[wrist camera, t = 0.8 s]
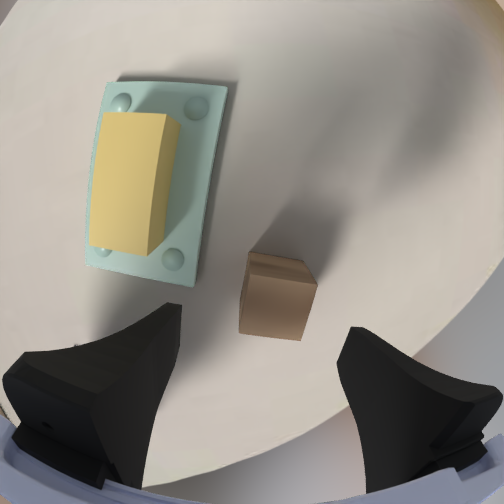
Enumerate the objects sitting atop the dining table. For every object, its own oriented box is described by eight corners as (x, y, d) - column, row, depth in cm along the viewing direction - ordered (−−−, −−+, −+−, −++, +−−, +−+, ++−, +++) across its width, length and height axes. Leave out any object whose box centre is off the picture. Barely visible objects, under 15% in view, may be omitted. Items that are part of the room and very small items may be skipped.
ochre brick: (163, 241, 18) (146, 256, 15) (112, 232, 18) (89, 245, 15) (181, 124, 16) (166, 114, 13) (127, 120, 16) (103, 112, 12)
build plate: (195, 282, 20) (193, 288, 19) (91, 260, 19) (84, 265, 18) (228, 91, 16) (227, 86, 15) (112, 85, 16) (105, 81, 15)
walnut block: (290, 308, 21) (300, 340, 17) (239, 301, 21) (238, 333, 17) (302, 260, 20) (317, 284, 16) (249, 251, 20) (250, 274, 15)
